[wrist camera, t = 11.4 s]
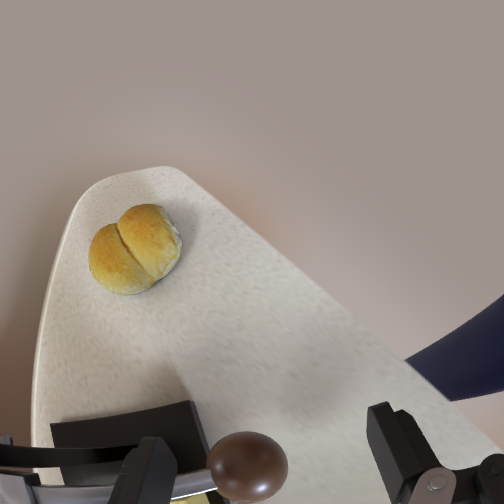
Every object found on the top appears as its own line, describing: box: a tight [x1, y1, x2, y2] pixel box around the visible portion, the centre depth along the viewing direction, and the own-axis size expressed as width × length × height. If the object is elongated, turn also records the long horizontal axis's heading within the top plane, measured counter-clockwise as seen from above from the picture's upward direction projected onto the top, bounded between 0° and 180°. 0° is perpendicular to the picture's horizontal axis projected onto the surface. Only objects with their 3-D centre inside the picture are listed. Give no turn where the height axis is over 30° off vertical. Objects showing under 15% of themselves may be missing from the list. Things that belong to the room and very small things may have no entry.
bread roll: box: [89, 204, 182, 295], centre depth 24 cm, size 8×9×4 cm
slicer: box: [0, 400, 230, 504], centre depth 10 cm, size 14×10×14 cm
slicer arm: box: [0, 432, 288, 504], centre depth 9 cm, size 15×4×4 cm
